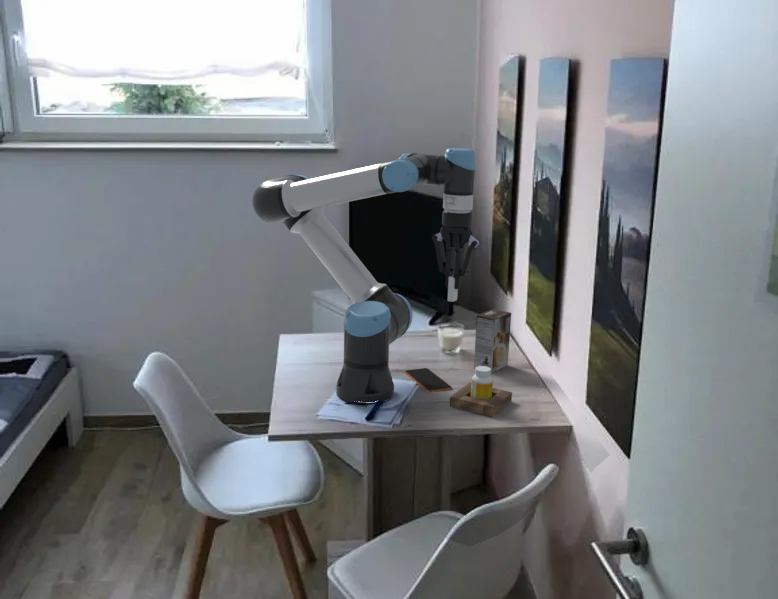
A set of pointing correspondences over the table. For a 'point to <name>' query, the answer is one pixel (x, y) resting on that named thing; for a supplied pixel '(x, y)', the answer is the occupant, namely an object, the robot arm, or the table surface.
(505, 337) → the coffee box
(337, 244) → the robot arm
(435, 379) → the smartphone
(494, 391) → the holder block
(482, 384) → the supplement bottle
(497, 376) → the table surface
